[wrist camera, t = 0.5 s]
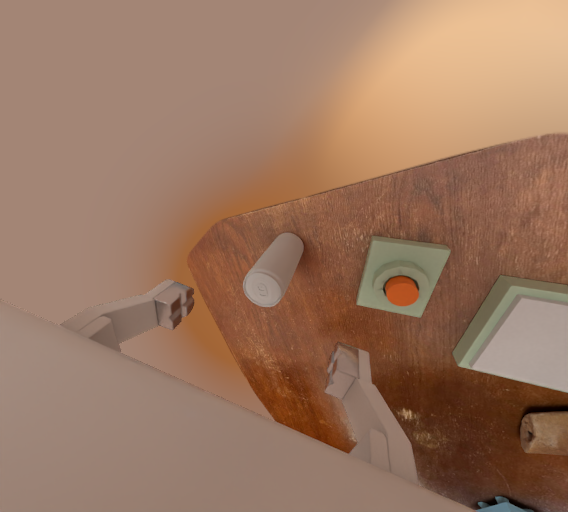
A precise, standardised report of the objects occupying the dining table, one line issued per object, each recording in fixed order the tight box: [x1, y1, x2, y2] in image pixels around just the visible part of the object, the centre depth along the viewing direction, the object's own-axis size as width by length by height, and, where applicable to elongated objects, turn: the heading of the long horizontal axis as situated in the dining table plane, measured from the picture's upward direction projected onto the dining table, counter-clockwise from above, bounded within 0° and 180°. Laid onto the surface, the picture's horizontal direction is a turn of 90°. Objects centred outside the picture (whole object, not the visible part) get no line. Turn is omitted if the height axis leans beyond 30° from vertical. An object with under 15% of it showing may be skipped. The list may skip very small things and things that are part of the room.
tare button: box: [385, 276, 419, 306], centre depth 28 cm, size 4×4×2 cm
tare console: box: [357, 236, 451, 318], centre depth 30 cm, size 11×9×4 cm
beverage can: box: [243, 233, 304, 307], centre depth 29 cm, size 5×5×12 cm
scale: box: [452, 275, 568, 393], centre depth 28 cm, size 15×15×3 cm
